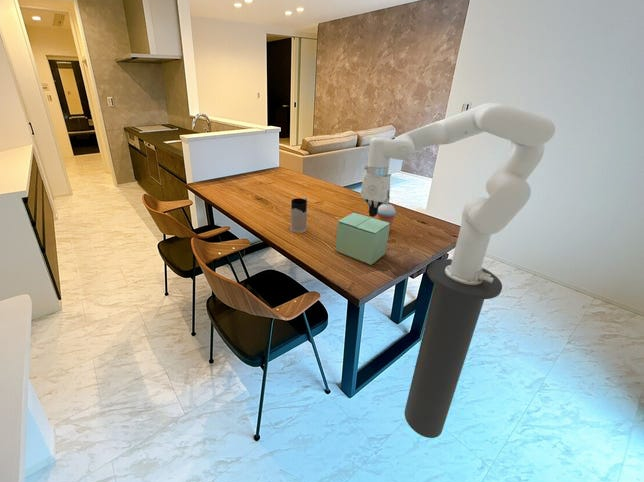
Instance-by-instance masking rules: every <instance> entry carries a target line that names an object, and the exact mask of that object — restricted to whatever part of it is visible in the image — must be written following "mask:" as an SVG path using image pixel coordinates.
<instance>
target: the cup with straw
mask: <svg viewBox="0 0 644 482" xmlns="http://www.w3.org/2000/svg"><path fill="white" fill-rule="evenodd" d="M390 198H391V196H390V195H389V199H388V204H386V205H380V206H378V214H377V215H376V219H377V220H381V221H385V222H388V223H390V224H389V225H390V229H389V232H391V228H392V226H393V222H394V220H395V216H396V215H397V210H396V209H395V207H394V206H393V205H392V204H390Z"/></svg>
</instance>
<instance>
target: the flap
mask: <svg viewBox="0 0 644 482" xmlns="http://www.w3.org/2000/svg"><path fill="white" fill-rule="evenodd" d="M389 224H390V223H388V222H385V221H381V220H377V218H374V217H371V218H370V219H368V220H367V221H365V222H363V223H362V224H360V225H358V226H356V228H359V229H362V230H365V231H368V232H372V233H375V234H376V233H377V232H379V231H380V230H382V229H383V228H385V227H386V226H388V225H389Z"/></svg>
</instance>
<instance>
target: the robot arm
mask: <svg viewBox="0 0 644 482" xmlns="http://www.w3.org/2000/svg"><path fill="white" fill-rule="evenodd" d="M482 133H488V134H490V135H493V136H496V137H499V138H501V139H504V140H507V141H509V142H510V149H509V151H508V153H507V155H506V156H505V158H504V159H503V161H502V162H501V163H500V165H499V166H498V167H497V168H496V170H495V171H494V172H493V174H491V176H490V177H489V178H488V179H487V181H486V183H485V190H486V193H487V194H488V197H485V196H475V197H472V198H471V199H469V200H468V201H467V202H466V203H465V204H464V206H463V209H462V214H461V222H460V227H459V232H458V236H457V239H456V242H455V247H454V251H453V254H452V258H451V259H452V263H451V265H449V266H447V267H446V268H445V273H446V275H447V276H448V277H449V278H451V279H452V280H454V281H457V282H459V283H462V284H467V285H478V284H480V283H482V281H483V280H485V281H487V282H490V283H492V282H493V279H494V278H492V277H490V276H491V275H490V274H487V273H484V272H483V271H482V269H483V268H484V267H483V263H484V260H485V256H486V253H487V249H488V246H489V245H490V240H491V236H492V235H495V234H498V233H500V232H501V231H502V230H503V229H505V228H506V227H507V226H508V224H510V223H511V221H513V219H514V218H515V217H516V216H517V215H518V214H519V212H520V211H521V210H522V209H523V208H524V207H525V206H526V205H527V203H528V202H529V200H530V197H531V193H532V189H531V185H530V184H529V183H528V182H527V180H528V179H529V177H530V176H531V175H532V174H533V172H534V170H535V169H536V168H537V167H538V165H539V164H540V162H541V161H542V158H543V156H544V153H545V144H546V143H548V142H549V141H550V140H552V138H553V137H554V135H555V133H556V126H555V123H554V122H553V121H552V120H551V119H550V118H549V117H546V116H542V115H539V114H535V113H533V112H529V111H526V110H523V109H520V108H517V107H515V106H514V107H513V106H510V105H507V104H505V103H501V102H485V103H483V104H479V105H476V106H474V107H472V108H469V109H466V110H464V111H462V112H459V113H457V114H454V115H451V116H449V117H446V118H443V119H440V120H437V121H434V122H432V123H429V124H426V125H424V126H421V127H418V128H415V129H412V130H409V131H407V132H405V133H402V134H400V135H398V136H396V137H395V138H391V137H388V136H373V137H372V138H370V141H369V147H368V149H369V150H368V157H367V158H368V159H367V160H368V161H367V165H364V170H366V172H365V173H364V175H363V178H362V182H361V188H360V197H361V200H363V201H365V202H366V204H367V206H368V215H369V216H368V217H371V218H374V217H377V214H378V208H379V207H380V206H381V205H386V204H388V199H389V196H390V195H391V194H390V193H391V177H390V174H389V171H390V170H389V169H390V161H391V159H394V160H399V161H404V160H408V159H410V158H411V157H412V156H413V155H414V153H415V151H417V150H419V149H423V148H426V147H431V146H438V145H440V146H441V145H450V144H453V143H456V142H459V141H462V140H464V139H467V138H470V137H474V136H476V135H479V134H482ZM389 200H390V199H389Z"/></svg>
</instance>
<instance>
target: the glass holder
mask: <svg viewBox="0 0 644 482" xmlns="http://www.w3.org/2000/svg"><path fill="white" fill-rule="evenodd" d="M290 201H291V203H290V227H289V231H291V232H292V233H297V234H302V233H305V232H307V231H308V227H307V219H308V209H307V208H308V198H307V197H304V198H301V197H300V198H299V197H298V198H297V197H296V198H293V199H291V200H290Z"/></svg>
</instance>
